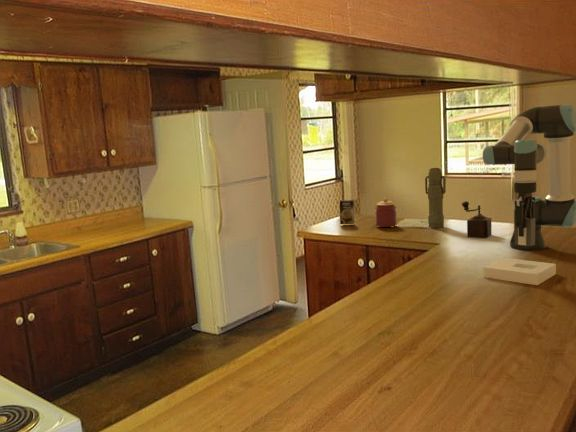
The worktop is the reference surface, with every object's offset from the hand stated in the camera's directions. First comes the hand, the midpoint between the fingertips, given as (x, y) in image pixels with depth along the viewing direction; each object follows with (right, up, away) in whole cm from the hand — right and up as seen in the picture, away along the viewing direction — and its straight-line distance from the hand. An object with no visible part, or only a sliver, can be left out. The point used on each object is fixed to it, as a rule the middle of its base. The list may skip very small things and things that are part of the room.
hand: (524, 243), depth 198 cm
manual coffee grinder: (+11, 0, +84) cm, 84 cm away
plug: (0, 0, 0) cm, 0 cm away
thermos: (-1, +4, +115) cm, 116 cm away
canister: (-28, +4, +128) cm, 131 cm away
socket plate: (0, -12, +3) cm, 13 cm away
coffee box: (-51, +4, +141) cm, 150 cm away
